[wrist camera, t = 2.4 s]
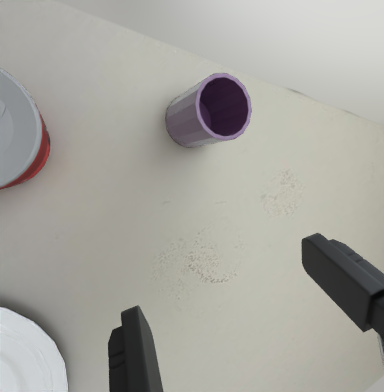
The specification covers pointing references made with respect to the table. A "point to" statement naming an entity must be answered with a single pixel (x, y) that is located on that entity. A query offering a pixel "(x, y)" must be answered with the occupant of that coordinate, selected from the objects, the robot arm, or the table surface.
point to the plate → (28, 356)
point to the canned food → (20, 134)
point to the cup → (209, 112)
